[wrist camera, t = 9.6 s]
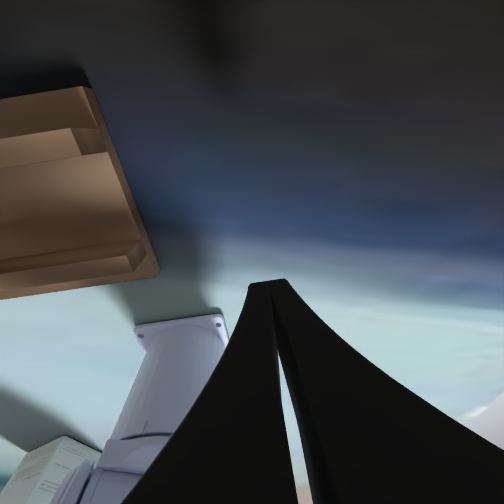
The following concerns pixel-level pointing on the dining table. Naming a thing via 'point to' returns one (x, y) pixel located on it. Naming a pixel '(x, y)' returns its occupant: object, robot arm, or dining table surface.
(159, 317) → the dining table surface
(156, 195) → the dining table surface
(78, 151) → the brown wooden tray
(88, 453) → the supplement box
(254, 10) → the dining table surface
